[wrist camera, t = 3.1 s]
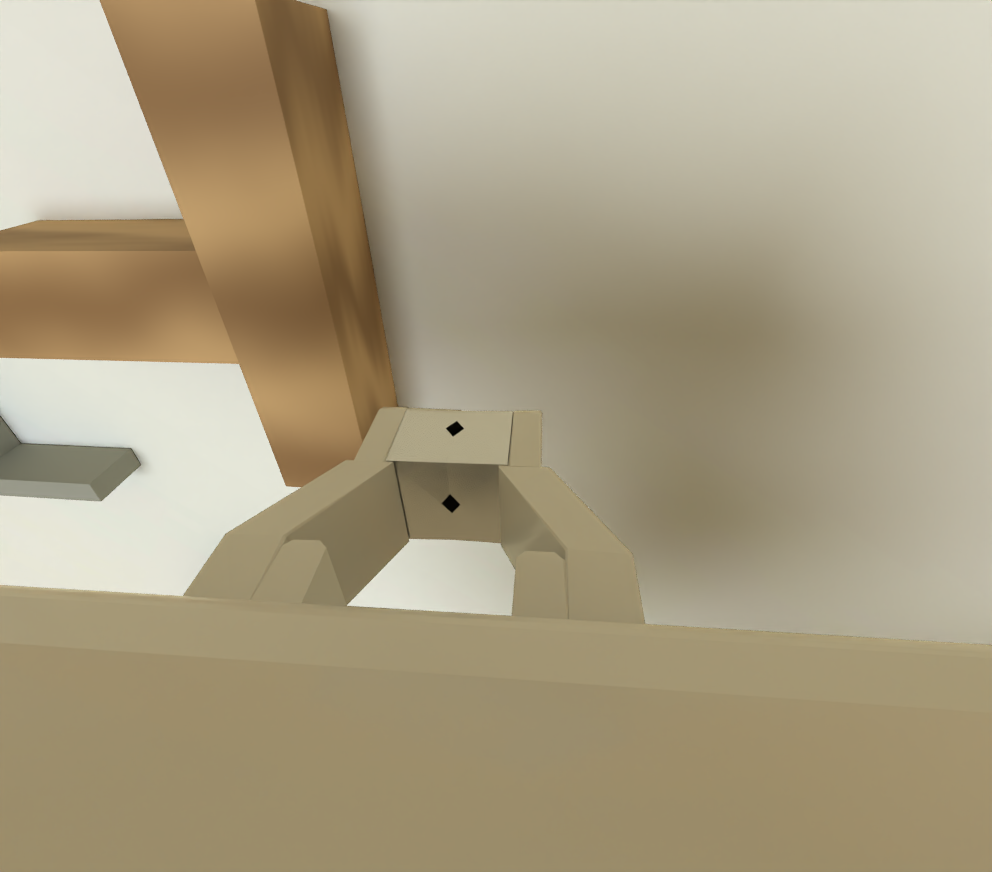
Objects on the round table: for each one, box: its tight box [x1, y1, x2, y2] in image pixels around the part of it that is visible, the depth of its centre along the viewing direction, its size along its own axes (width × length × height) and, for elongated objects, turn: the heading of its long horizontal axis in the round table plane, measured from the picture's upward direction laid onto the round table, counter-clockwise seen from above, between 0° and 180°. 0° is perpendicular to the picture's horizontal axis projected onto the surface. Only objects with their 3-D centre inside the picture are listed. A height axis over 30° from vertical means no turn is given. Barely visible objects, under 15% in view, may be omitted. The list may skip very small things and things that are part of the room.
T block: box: [0, 0, 398, 487], centre depth 19 cm, size 16×14×4 cm
